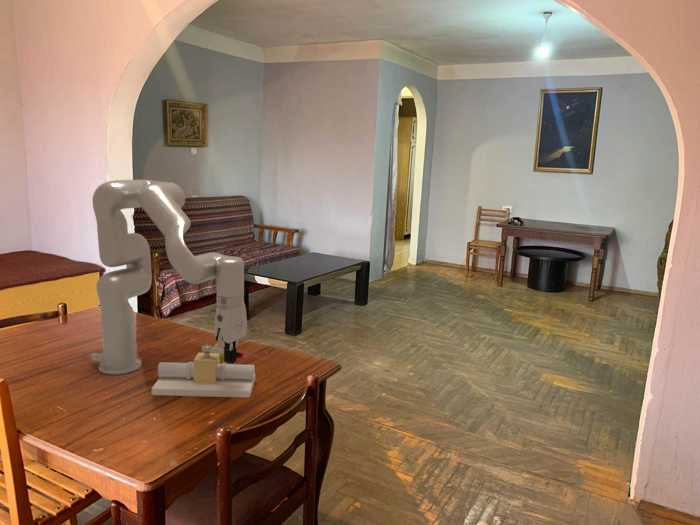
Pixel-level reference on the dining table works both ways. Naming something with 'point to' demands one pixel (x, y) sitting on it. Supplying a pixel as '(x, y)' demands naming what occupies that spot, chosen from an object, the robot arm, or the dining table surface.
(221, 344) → the robot arm
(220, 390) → the valve base
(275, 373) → the dining table surface
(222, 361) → the lemon
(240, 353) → the valve lever
